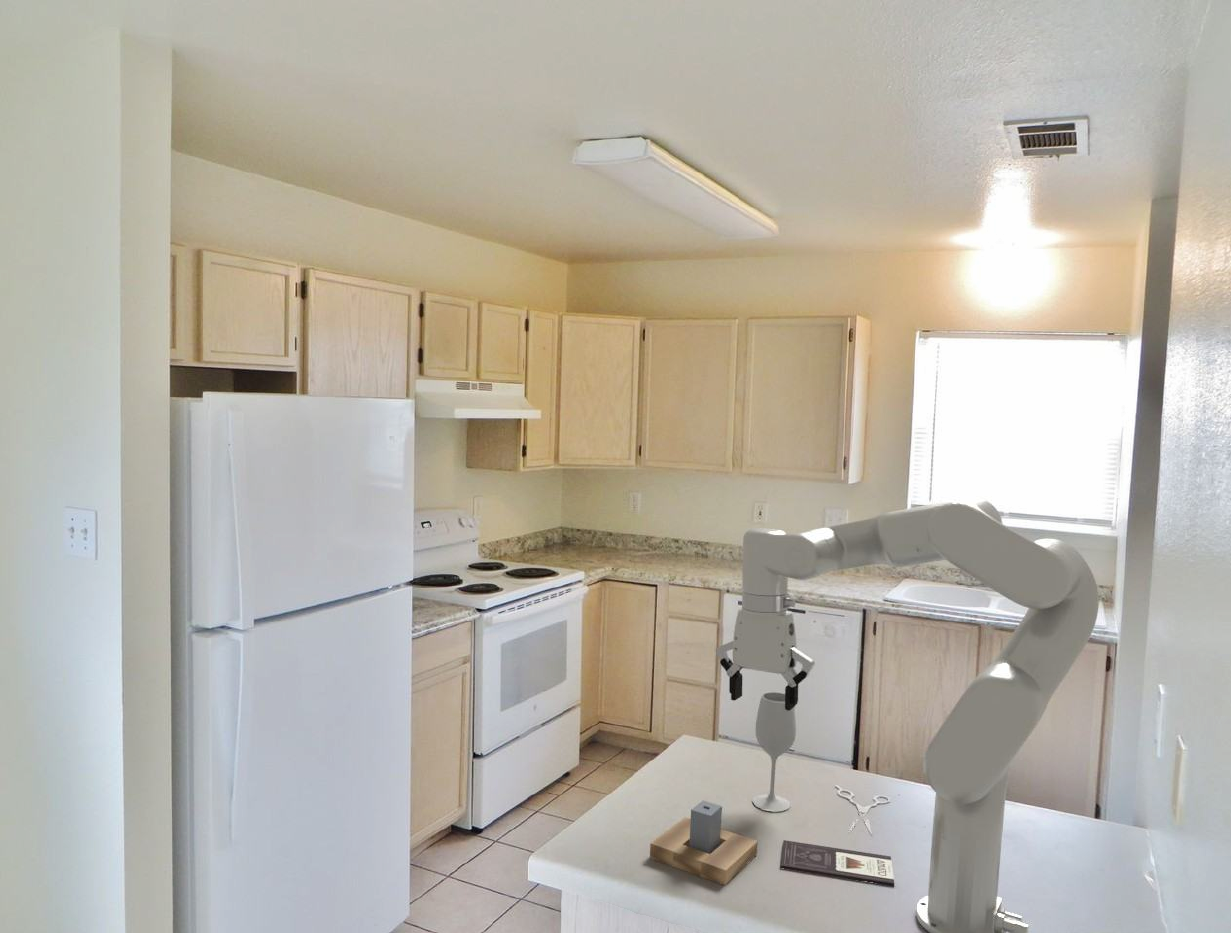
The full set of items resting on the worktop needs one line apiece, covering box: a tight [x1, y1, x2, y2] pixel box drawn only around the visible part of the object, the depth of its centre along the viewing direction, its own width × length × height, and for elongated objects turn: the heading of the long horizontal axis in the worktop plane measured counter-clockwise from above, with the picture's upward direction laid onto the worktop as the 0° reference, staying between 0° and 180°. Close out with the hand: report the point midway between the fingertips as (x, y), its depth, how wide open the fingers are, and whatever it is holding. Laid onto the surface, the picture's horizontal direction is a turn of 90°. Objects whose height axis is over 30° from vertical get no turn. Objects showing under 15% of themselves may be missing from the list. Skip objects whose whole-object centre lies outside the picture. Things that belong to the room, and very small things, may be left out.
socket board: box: [649, 816, 759, 886], centre depth 150 cm, size 14×12×2 cm
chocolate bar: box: [780, 839, 895, 888], centre depth 150 cm, size 9×1×18 cm
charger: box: [689, 800, 723, 854], centre depth 150 cm, size 4×4×9 cm
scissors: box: [834, 784, 891, 836], centre depth 170 cm, size 11×1×20 cm
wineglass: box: [752, 691, 797, 811], centre depth 170 cm, size 8×8×21 cm
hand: (762, 703), depth 150 cm, fingers open, 9 cm apart
